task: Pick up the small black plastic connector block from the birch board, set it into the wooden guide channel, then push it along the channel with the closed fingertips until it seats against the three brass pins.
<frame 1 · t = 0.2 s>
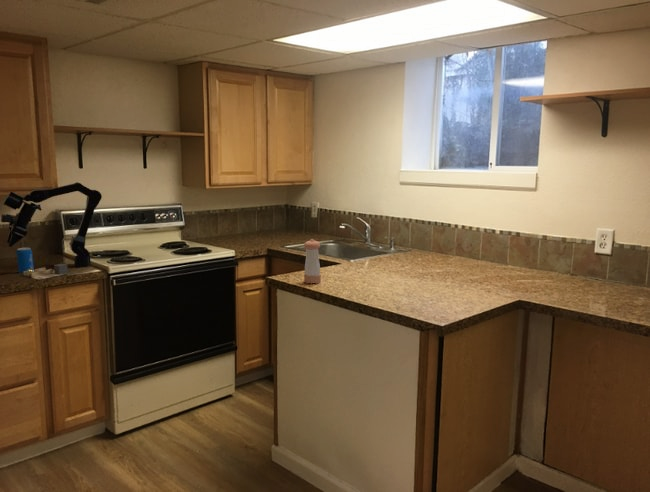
hand: (8, 244, 255), 15 cm above the worktop, tool tilted 30°, fingers open, 9 cm apart
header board: (46, 276, 255), on the worktop
connector block: (61, 273, 257), point 1 cm above the worktop, touching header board
pepper shaker: (312, 282, 244), on the worktop
beverage can: (26, 274, 261), on the worktop
pin header: (31, 278, 252), resting on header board
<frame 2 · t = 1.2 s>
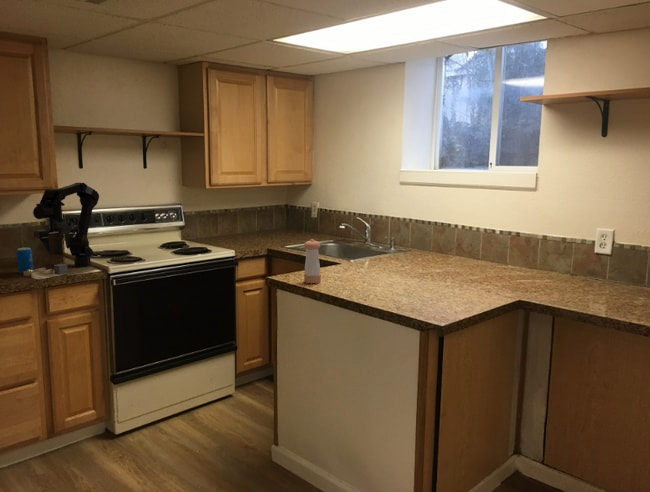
hand: (58, 250, 255), 12 cm above the worktop, tool pointing down, fingers open, 9 cm apart
nothing on the worktop moved.
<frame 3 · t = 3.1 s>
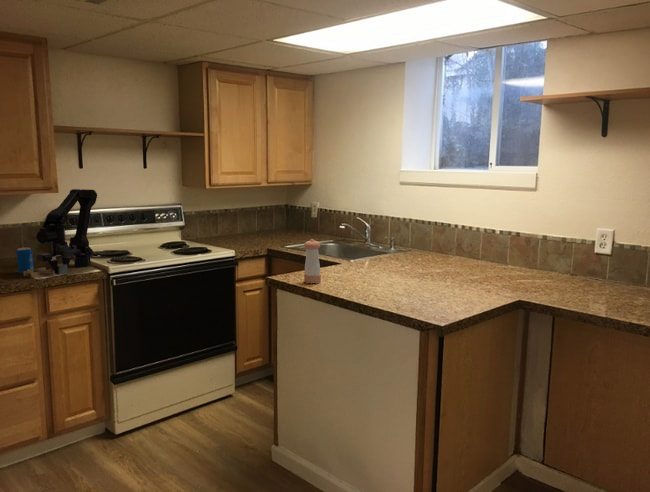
hand: (61, 272, 257), 1 cm above the worktop, tool pointing down, fingers closed on connector block, 4 cm apart
connector block: (61, 273, 257), point 1 cm above the worktop, touching gripper, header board
everything else where it was.
when the fingers open (2 cm above the worktop, at t = 6.7 s): connector block stays where it is, point 1 cm above the worktop.
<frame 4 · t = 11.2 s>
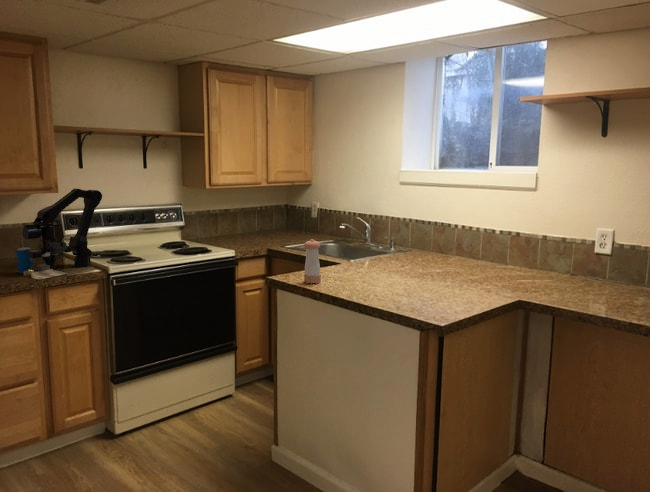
hand: (51, 269, 260), 2 cm above the worktop, tool pointing down, fingers closed
connector block: (43, 273, 257), point 1 cm above the worktop, touching gripper
everything else where it was.
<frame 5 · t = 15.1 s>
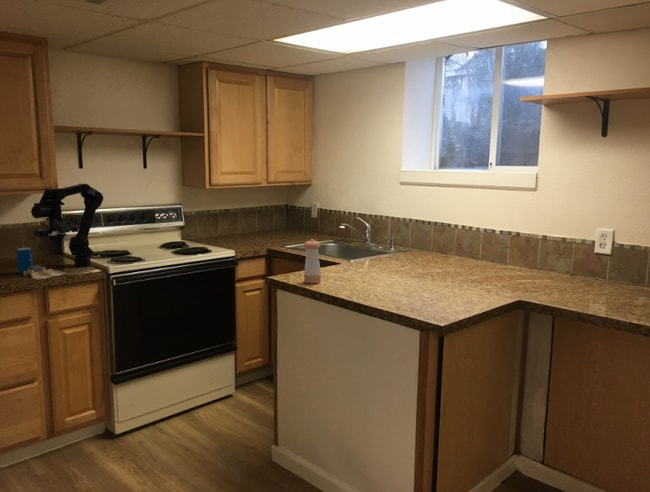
hand: (58, 249, 257), 12 cm above the worktop, tool pointing down, fingers closed
connector block: (36, 275, 254), point 1 cm above the worktop, touching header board
everything else where it was.
at the end: connector block 0.1 cm from the target spot, point 1.0 cm above the worktop; connector block tilted 0°; the gripper is holding nothing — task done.
